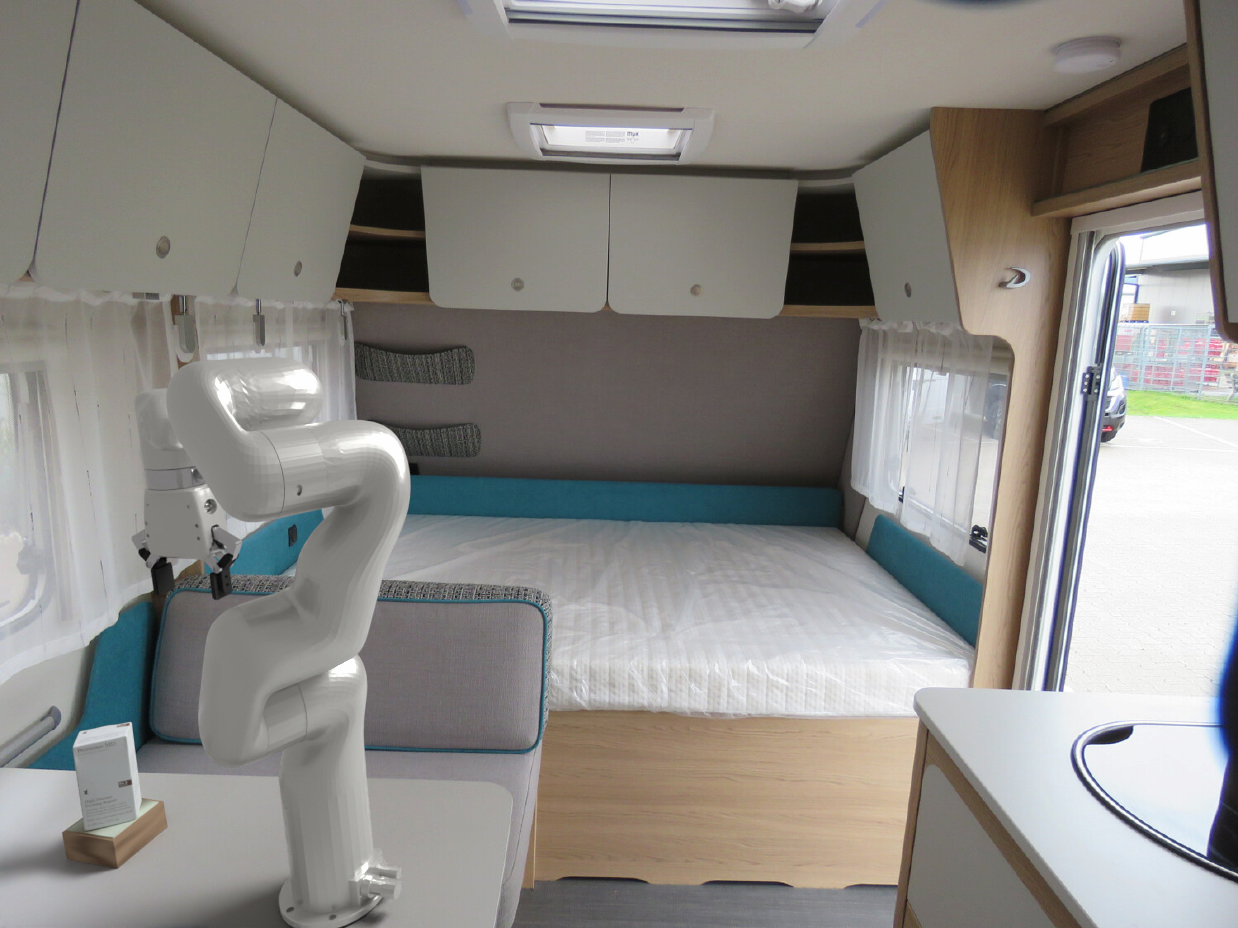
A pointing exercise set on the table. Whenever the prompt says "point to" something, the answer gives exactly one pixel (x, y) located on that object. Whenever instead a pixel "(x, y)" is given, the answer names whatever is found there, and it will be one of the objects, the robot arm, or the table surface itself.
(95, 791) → the skincare box
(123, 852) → the brown square block
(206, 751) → the robot arm
